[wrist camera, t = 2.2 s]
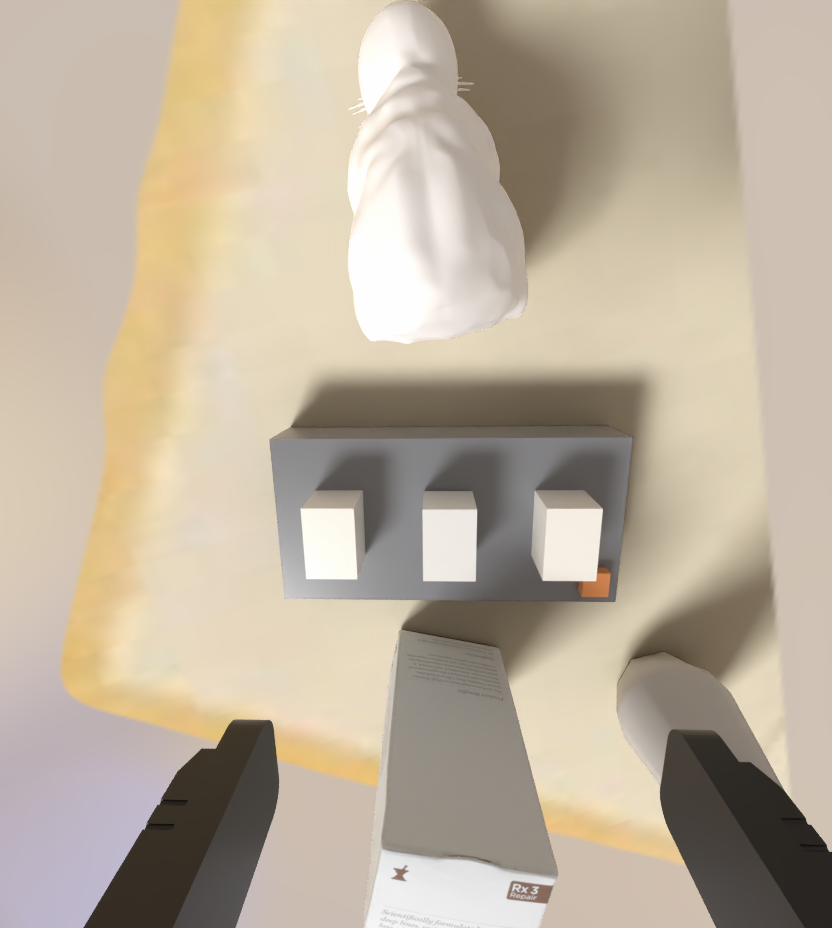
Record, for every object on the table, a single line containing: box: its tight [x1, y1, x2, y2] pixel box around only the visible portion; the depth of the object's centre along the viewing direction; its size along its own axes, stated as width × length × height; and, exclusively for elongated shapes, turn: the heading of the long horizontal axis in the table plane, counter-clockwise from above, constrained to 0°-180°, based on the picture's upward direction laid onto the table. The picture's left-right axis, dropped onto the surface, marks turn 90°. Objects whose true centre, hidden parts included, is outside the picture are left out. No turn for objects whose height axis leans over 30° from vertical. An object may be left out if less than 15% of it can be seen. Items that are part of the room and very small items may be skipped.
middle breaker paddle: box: [422, 491, 477, 582], centre depth 20 cm, size 3×2×2 cm
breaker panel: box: [269, 425, 633, 602], centre depth 22 cm, size 8×16×5 cm, turn 91°
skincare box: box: [363, 630, 558, 928], centre depth 21 cm, size 6×4×12 cm
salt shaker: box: [617, 651, 784, 790], centre depth 20 cm, size 6×6×13 cm
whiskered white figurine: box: [348, 0, 528, 344], centre depth 17 cm, size 6×8×12 cm
